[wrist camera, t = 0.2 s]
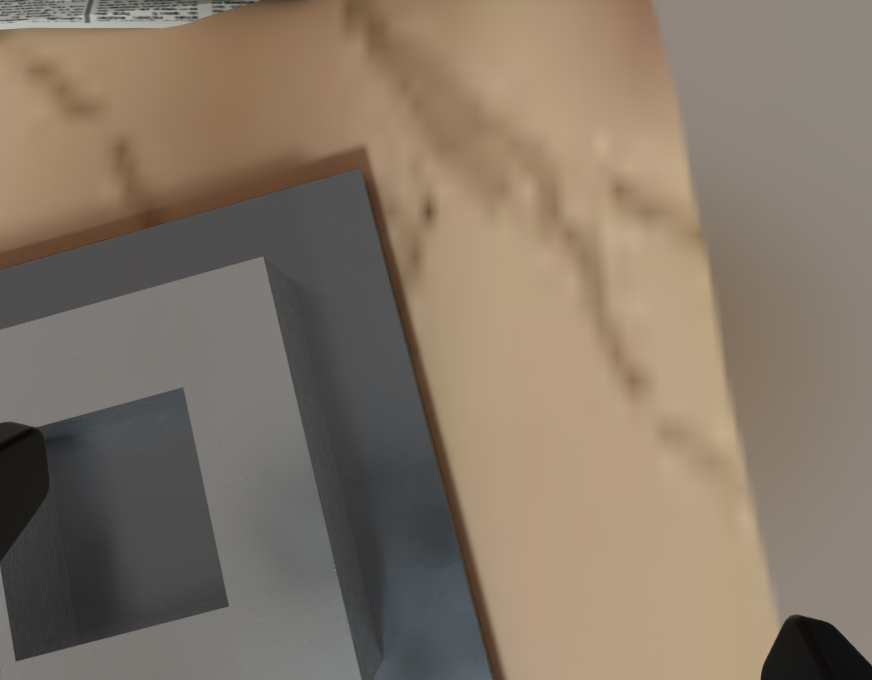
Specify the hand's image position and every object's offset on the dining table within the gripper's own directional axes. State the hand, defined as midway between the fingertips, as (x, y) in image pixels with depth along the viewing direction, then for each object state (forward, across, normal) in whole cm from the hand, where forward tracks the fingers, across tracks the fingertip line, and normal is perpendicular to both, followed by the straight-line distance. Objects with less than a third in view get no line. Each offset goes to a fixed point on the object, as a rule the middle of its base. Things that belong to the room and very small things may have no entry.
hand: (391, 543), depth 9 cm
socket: (+11, +9, +11) cm, 18 cm away
